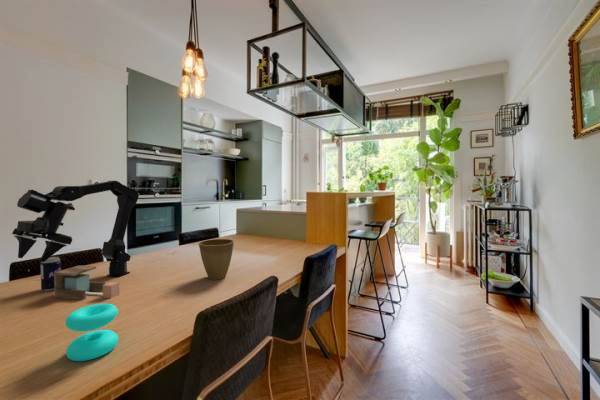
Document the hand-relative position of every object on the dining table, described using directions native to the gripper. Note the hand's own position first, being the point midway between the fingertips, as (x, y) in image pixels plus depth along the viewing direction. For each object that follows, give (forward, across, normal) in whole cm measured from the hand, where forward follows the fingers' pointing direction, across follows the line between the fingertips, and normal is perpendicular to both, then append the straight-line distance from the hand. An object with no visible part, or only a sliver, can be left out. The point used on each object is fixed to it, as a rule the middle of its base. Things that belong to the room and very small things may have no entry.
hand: (30, 259), depth 94 cm
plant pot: (-6, +53, +35) cm, 64 cm away
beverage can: (+9, -3, +15) cm, 18 cm away
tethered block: (+8, +18, +12) cm, 23 cm away
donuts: (+18, +49, -16) cm, 54 cm away
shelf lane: (+9, +12, +12) cm, 20 cm away
